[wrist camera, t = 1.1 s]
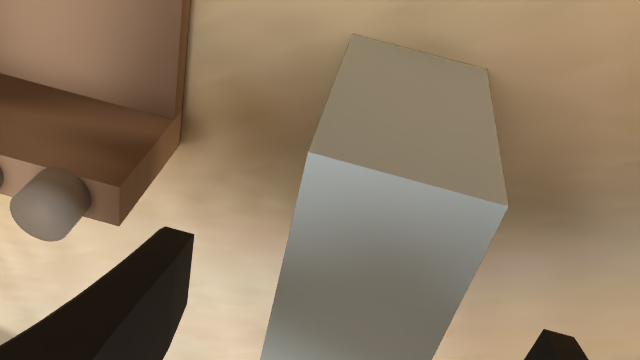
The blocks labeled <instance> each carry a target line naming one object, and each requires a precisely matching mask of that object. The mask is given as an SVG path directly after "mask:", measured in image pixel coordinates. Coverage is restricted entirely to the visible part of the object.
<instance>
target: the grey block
mask: <svg viewBox="0 0 640 360" xmlns="http://www.w3.org/2000/svg"><path fill="white" fill-rule="evenodd" d="M508 207H509V206H508V200H507V193H506V184H505V180H504V174H503V168H502V162H501V155H500V149H499V143H498V136H497V130H496V124H495V117H494V111H493V105H492V98H491V92H490V86H489V79H488V73H487V69H484V68H481V67H477V66H473V65H469V64H466V63H462V62H458V61H454V60H450V59H447V58H443V57H439V56H435V55H431V54H428V53H424V52H420V51H416V50H413V49H409V48H405V47H401V46H397V45H394V44H390V43H386V42H382V41H378V40H375V39H371V38H367V37H363V36H360V35H356V34H352V37H351V39H350V42H349V45H348V47H347V50H346V53H345V55H344V58H343V61H342V63H341V66H340V69H339V71H338V74H337V76H336V79H335V82H334V84H333V87H332V90H331V92H330V95H329V98H328V100H327V103H326V106H325V108H324V111H323V113H322V116H321V119H320V121H319V124H318V127H317V129H316V132H315V135H314V137H313V140H312V143H311V145H310V148H309V150H308V154H307V158H306V163H305V167H304V171H303V176H302V180H301V184H300V189H299V193H298V197H297V202H296V206H295V211H294V215H293V219H292V224H291V228H290V232H289V237H288V241H287V245H286V250H285V254H284V258H283V263H282V267H281V271H280V276H279V280H278V284H277V289H276V293H275V298H274V302H273V306H272V311H271V315H270V319H269V324H268V328H267V332H266V337H265V341H264V345H263V350H262V354H261V358H260V360H432V358H433V356H434V354H435V352H436V350H437V348H438V346H439V344H440V342H441V340H442V338H443V336H444V334H445V332H446V330H447V328H448V326H449V324H450V322H451V320H452V318H453V316H454V314H455V312H456V311H457V309H458V307H459V305H460V303H461V301H462V299H463V297H464V295H465V293H466V291H467V289H468V287H469V285H470V283H471V281H472V279H473V277H474V275H475V273H476V271H477V269H478V267H479V265H480V263H481V261H482V259H483V257H484V255H485V253H486V251H487V249H488V247H489V245H490V243H491V241H492V239H493V237H494V235H495V233H496V231H497V229H498V227H499V225H500V223H501V221H502V219H503V217H504V215H505V213H506V211H507V209H508Z"/></svg>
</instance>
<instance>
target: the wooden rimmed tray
mask: <svg viewBox="0 0 640 360" xmlns="http://www.w3.org/2000/svg"><path fill="white" fill-rule="evenodd" d="M189 13H190V0H0V194H4V195H7V196H11V197H13V198H12V199H11V202H10V211H11V214H12V217H13V219H14V220H15V222H16V223H17V224H18V225H19V226H20V227H21V228H22V229H23V230H24V231H25V232H27V233H28V234H30V235H31V236H33V237H35V238H38V239H40V240H44V241H58V240H61V239H63V238H64V237H65V236H66V235H67V234H68V233H69V232H70V231H71V229H72V228H73V227H74V226H75V225H76V223H77V222H78V221H79V220H80V219H81V217H82V216H84V217H87V218H91V219H94V220H98V221H102V222H105V223H109V224H113V225H116V226H120V225H121V223H122V222H123V221H124V219H125V218H126V216H127V215H128V214H129V212H130V211H131V210H132V208H133V207H134V206H135V204H136V203H137V202H138V200H139V199H140V198H141V196H142V195H143V194H144V192H145V191H146V189H147V188H148V187H149V185H150V184H151V183H152V181H153V180H154V179H155V177H156V176H157V175H158V173H159V172H160V171H161V169H162V168H163V167H164V165H165V164H166V162H167V161H168V160H169V158H170V157H171V156H172V154H173V153H174V152H175V150H176V149H177V148H178V146H179V143H180V130H181V117H182V104H183V91H184V78H185V65H186V52H187V39H188V26H189Z"/></svg>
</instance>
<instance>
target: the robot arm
mask: <svg viewBox="0 0 640 360" xmlns="http://www.w3.org/2000/svg"><path fill="white" fill-rule="evenodd" d="M193 242H194V234H191V233H187V232H184V231H180V230H176V229H172V228H169V227H163V228H161V229H159V230H158V231H157V232H156V233H155V234H154V235H153V236H152V237H150V238H149V239H148V240H147V241H146V242H145V243H143V244H142V245H141V246H140V247H139V248H138V249H136V250H135V251H134V252H133V253H132V254H130V255H129V256H128V257H127V258H125V259H124V260H123V261H122V262H121V263H119V264H118V265H117V266H116V267H114V268H113V269H112V270H110V271H109V272H108V273H107V274H105V275H104V276H103V277H101V278H100V279H99V280H97V281H96V282H95V283H93V284H92V285H91V286H90V287H88V288H87V289H86V290H84V291H83V292H81V293H80V294H79V295H77V296H76V297H75V298H73V299H72V300H70V301H69V302H67V303H66V304H64V305H63V306H61V307H60V308H58V309H57V310H56V311H54V312H53V313H51V314H50V315H48V316H47V317H45V318H44V319H42V320H41V321H39V322H38V323H36V324H35V325H33V326H32V327H30V328H28V329H27V330H25V331H24V332H22V333H20V334H19V335H17V336H16V337H14V338H12V339H11V340H9V341H7V342H5V343H4V344H2V345H0V360H163V358H164V356H165V354H166V352H167V351H168V349H169V346H170V344H171V342H172V339H173V337H174V334H175V332H176V330H177V327H178V325H179V322H180V320H181V317H182V315H183V312H184V310H185V307H186V305H187V299H188V289H189V280H190V270H191V261H192V251H193ZM524 360H588V358H587V357H586V355H585V353H584V352H583V350H582V349H581V347H580V346H579V344H578V343H577V341H576V340H575V338H574V337H571V336H568V335H564V334H560V333H557V332H553V331H549V330H545V329H544V330H543V331H542V333H541V334H540V336H539V337H538V339H537V340H536V342H535V344H534V345H533V347H532V348H531V350H530V351H529V353H528V354H527V356H526V358H525V359H524Z"/></svg>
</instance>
